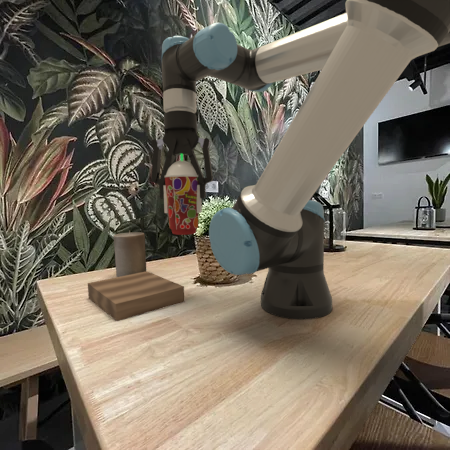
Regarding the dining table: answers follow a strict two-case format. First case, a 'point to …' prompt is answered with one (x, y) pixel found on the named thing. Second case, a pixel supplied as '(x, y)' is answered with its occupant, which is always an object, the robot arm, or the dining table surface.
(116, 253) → the pillar candle
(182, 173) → the smoothie
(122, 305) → the walnut shelf board
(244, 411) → the dining table surface
